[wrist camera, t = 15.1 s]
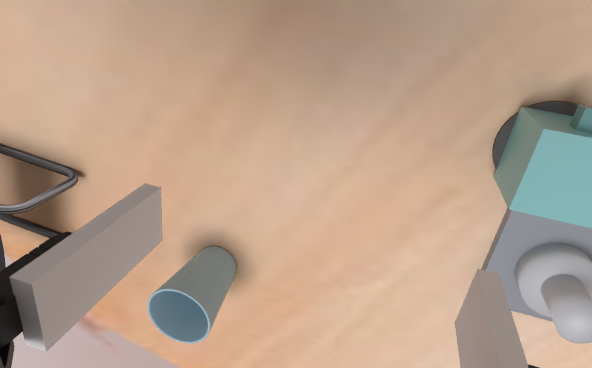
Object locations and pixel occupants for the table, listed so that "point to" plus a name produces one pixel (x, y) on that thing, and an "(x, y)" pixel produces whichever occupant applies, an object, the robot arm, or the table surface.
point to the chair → (7, 210)
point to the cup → (193, 296)
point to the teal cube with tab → (549, 165)
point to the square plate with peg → (546, 271)
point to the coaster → (506, 129)
